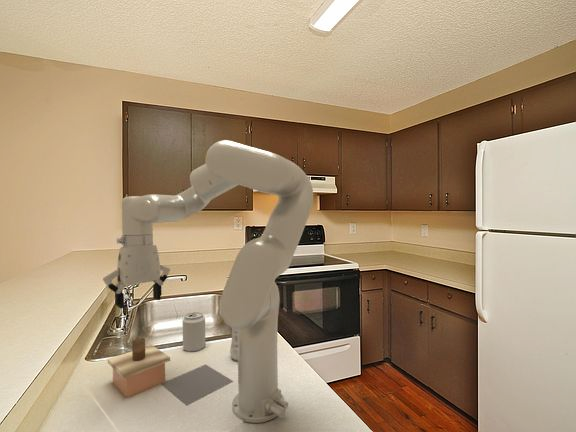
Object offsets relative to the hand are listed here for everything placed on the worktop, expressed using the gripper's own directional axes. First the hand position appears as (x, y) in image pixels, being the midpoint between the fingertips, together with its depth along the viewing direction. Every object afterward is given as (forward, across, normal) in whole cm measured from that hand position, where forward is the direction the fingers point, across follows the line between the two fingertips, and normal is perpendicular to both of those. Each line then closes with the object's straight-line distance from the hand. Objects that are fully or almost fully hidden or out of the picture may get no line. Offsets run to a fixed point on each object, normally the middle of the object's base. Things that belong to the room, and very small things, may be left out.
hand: (139, 303), depth 84 cm
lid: (+16, 0, 0) cm, 16 cm away
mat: (+22, +10, -12) cm, 27 cm away
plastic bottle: (+23, +27, -10) cm, 37 cm away
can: (+22, +21, +8) cm, 32 cm away
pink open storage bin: (+22, 0, 0) cm, 22 cm away
